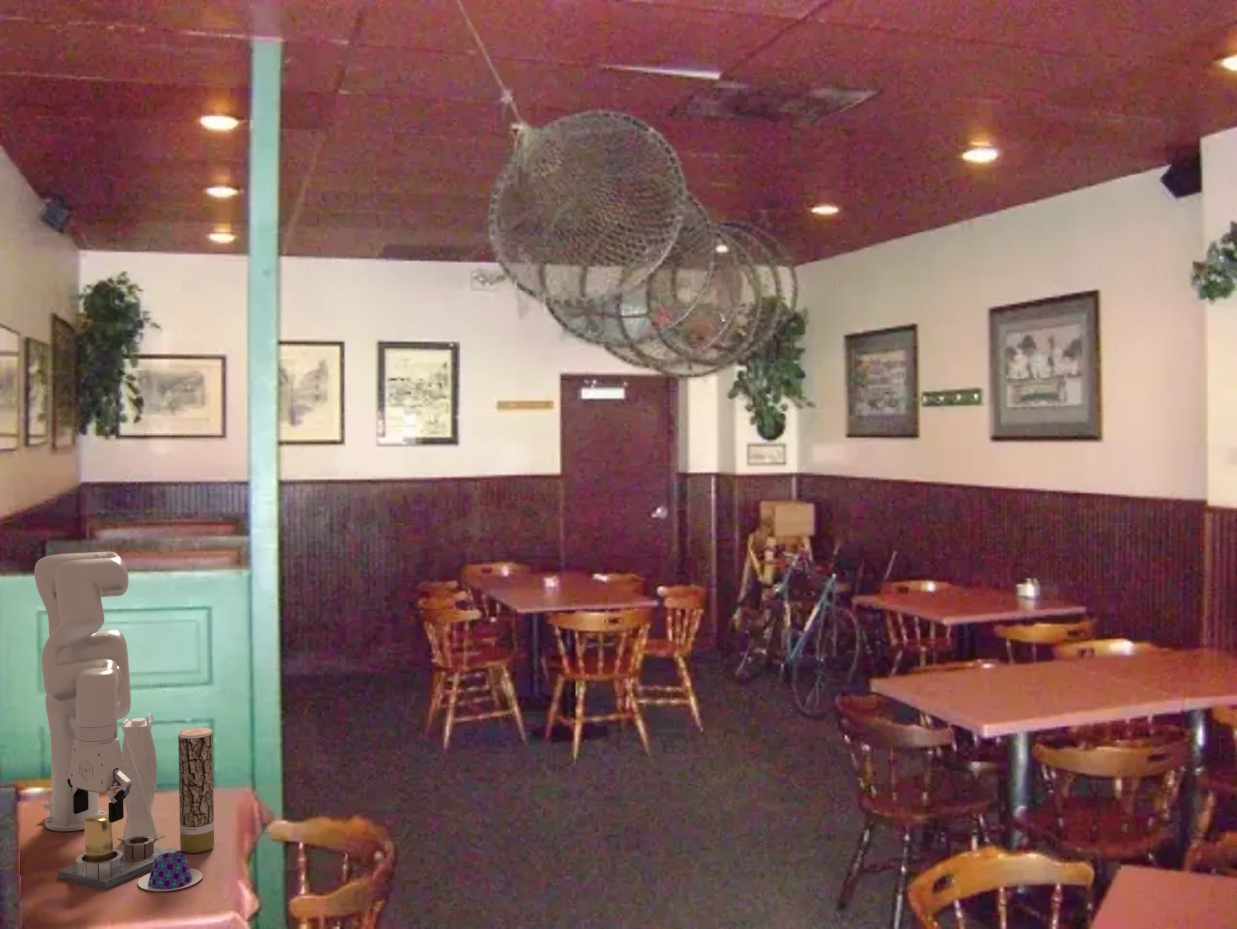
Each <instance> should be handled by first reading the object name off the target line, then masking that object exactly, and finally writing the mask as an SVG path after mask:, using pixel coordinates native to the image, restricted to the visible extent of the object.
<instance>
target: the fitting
mask: <svg viewBox="0 0 1237 929" xmlns="http://www.w3.org/2000/svg"><path fill="white" fill-rule="evenodd" d="M84 827H85V829H84V843H85V844H84V845H85V852H86V862H89V863H97V862H104V861H109V860H111V859H113V849H114V842H113V839H114V838H113V823H110V822H109V814H106V815H96V816H92V817H89V818H87V819H85V820H84Z"/></svg>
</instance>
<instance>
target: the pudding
mask: <svg viewBox="0 0 1237 929" xmlns="http://www.w3.org/2000/svg"><path fill="white" fill-rule="evenodd" d="M202 878H203V873H202V872H201V871H200V870H198V869H195V868H190V866H189V863H188V860H187V856H186V854H185V853H181V852H180V851H179V852H173V853H172V852H169V853H165V854H161V855H159V856H157V857H156V858H155V860H154V862H153V866H152V870H150V872H149V873H147V874H146V873H145V874H144V875H143V876H142V877H140V878H139V879H138V880H137V884H138V886H139V887H140V888H141V889H144V890H147V891H153V892H167V891H168V892H169V891H177V890H181V889H184V888H188V887H191V886H193V885H195V884H197V883H199V882H200V881H201V879H202Z"/></svg>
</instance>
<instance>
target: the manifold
mask: <svg viewBox="0 0 1237 929" xmlns="http://www.w3.org/2000/svg"><path fill="white" fill-rule="evenodd" d="M123 842H124V844H122V845H119V846H115V847H113V859H111V860H109V861H104V862H97V863H89V862H86V851H85V852H84V853H80V854H78V856H76V858H75V864H71V865H69V866H67V867H65V868H64V867H63V868H62V869H59V870H58V871H57V874H58V875H57V879H59V878H60V879H59V880H63V879H65V880H64V881H67V880H68V882H71V881H72V883H76V884H81V885H85V886H89V887H92V888H97V889H100V890H104V891H106V890H108V889H111V888H113V887H116V886H118V885H119V884H122V883H125V882H127V881H129V880H132V879H134V878H136V877H138V876H140V875H143V874H146V873H148V872H151V870H152V866H153V862H154V860H155V858H156V857H157V856H159V855H161V854H165V853H169V852H172V853H173V852H179V853H180V850H178V849H173V848H169V847H164V846H160V845H155V840H154V837H151V836H135V837H131V838H129V839H126V840H125V841H123Z"/></svg>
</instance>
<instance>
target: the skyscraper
mask: <svg viewBox="0 0 1237 929" xmlns="http://www.w3.org/2000/svg"><path fill="white" fill-rule="evenodd" d="M149 717H150V719H151V720H149ZM154 721H155V718H154V715H153V714H152V712H149V713H148V714H147V715H146V717H145V718H144V717H137V718H136V717H135V718H132V719H131V720H129V718H126V719H125V720H124V721H123V722H122V724H121V729H122V732H123V739H122V743H121V744H122V745H121V746H122V747H121V755H122V765H123V774H124V775H125V776H127V777H128V778H129V779H130V780H131V781H132V785H131V788H130V790H129V794H128V795H127V796H126V799H124V800H123V802H124V808H125V811H126V812H125V813H126V820H125V824H124V828H123V829H124V830H123V832H122V836H120V837H117V839H118V840H119V839H121V840H120V841H122V840H123V842H125V840H126V839H129V838H131V837H135V836H151V837H154V841H156V840H159V838H160V839H163V838H165V836H166V835H164V834H162V833H159V832H157V829H156V826H155V823H154V820H153V816H152V813H151V812H152V807H153V804H154V800H155V796H156V788H157V780H158V759H157V752H156V747H155V743H154V740H153V739H154V738H153V735H152V729H153V725H154V723H155V722H154ZM162 837H163V838H162Z"/></svg>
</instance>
